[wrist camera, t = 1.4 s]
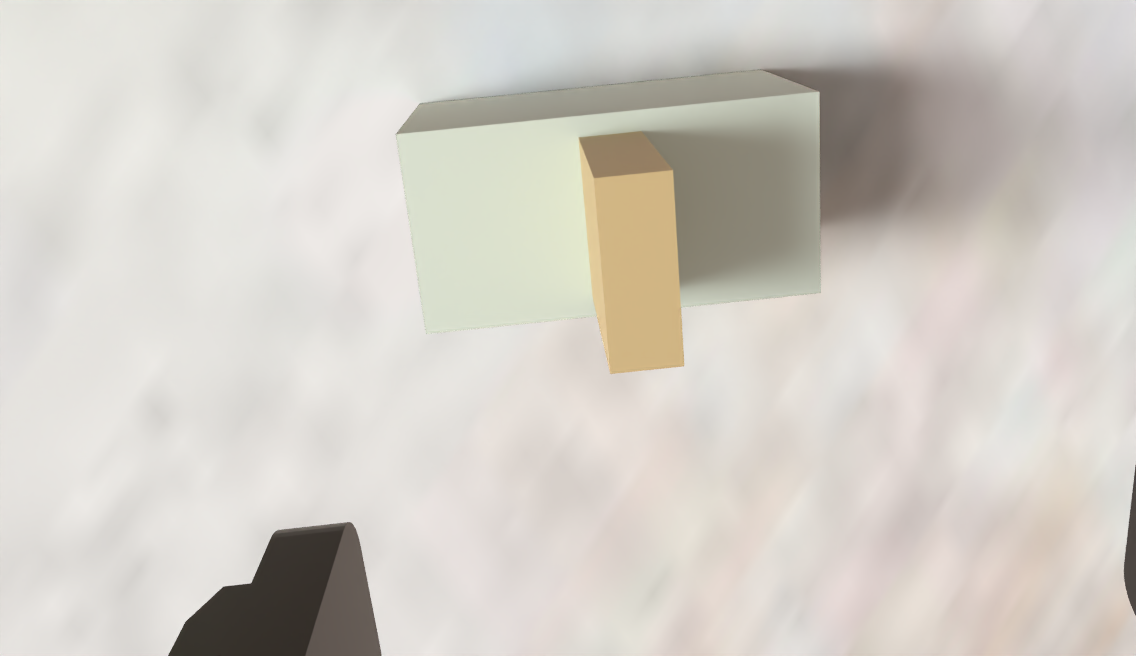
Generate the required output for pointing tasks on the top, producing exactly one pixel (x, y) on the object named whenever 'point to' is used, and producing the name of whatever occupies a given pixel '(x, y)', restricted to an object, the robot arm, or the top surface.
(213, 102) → the top surface
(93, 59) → the top surface
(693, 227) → the wide pale green cuboid
